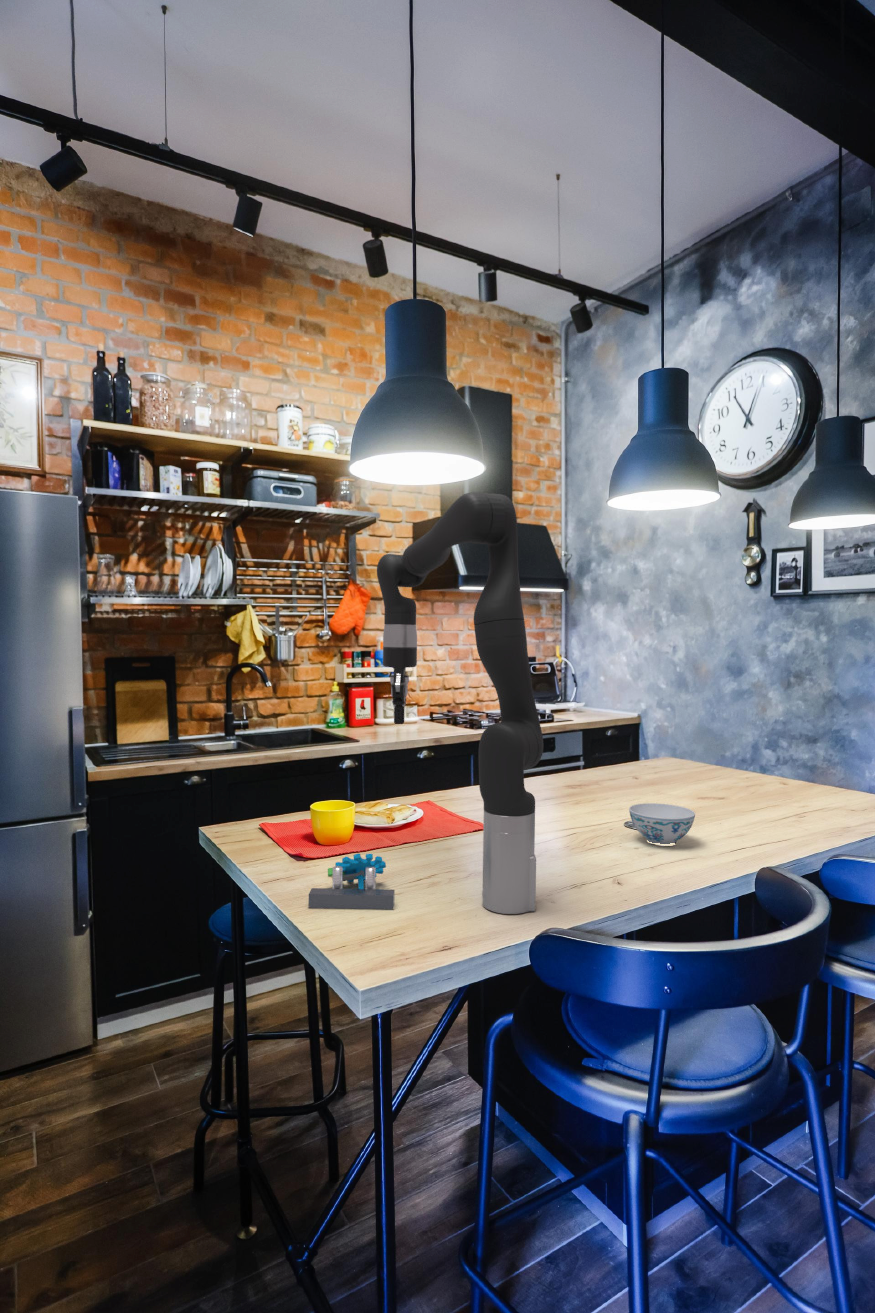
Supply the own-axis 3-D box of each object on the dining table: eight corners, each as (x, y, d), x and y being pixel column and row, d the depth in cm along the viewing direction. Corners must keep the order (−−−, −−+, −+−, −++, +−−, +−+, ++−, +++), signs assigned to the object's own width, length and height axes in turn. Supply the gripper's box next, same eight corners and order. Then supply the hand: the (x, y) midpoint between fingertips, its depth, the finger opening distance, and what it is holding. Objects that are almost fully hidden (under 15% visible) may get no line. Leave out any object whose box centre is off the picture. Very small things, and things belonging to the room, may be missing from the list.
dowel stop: (395, 899, 132) (395, 867, 131) (393, 909, 127) (393, 876, 127) (313, 898, 132) (313, 865, 132) (308, 908, 127) (308, 874, 127)
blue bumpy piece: (387, 871, 142) (382, 846, 135) (390, 899, 138) (385, 876, 131) (331, 879, 142) (324, 855, 134) (332, 908, 138) (325, 885, 130)
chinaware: (615, 838, 174) (615, 806, 174) (661, 831, 181) (661, 801, 181) (660, 855, 161) (661, 821, 161) (708, 847, 168) (709, 814, 167)
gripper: (415, 646, 152) (414, 727, 152) (418, 645, 165) (417, 720, 165) (380, 645, 152) (379, 727, 152) (385, 644, 165) (384, 720, 166)
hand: (399, 723), depth 159 cm, fingers closed
